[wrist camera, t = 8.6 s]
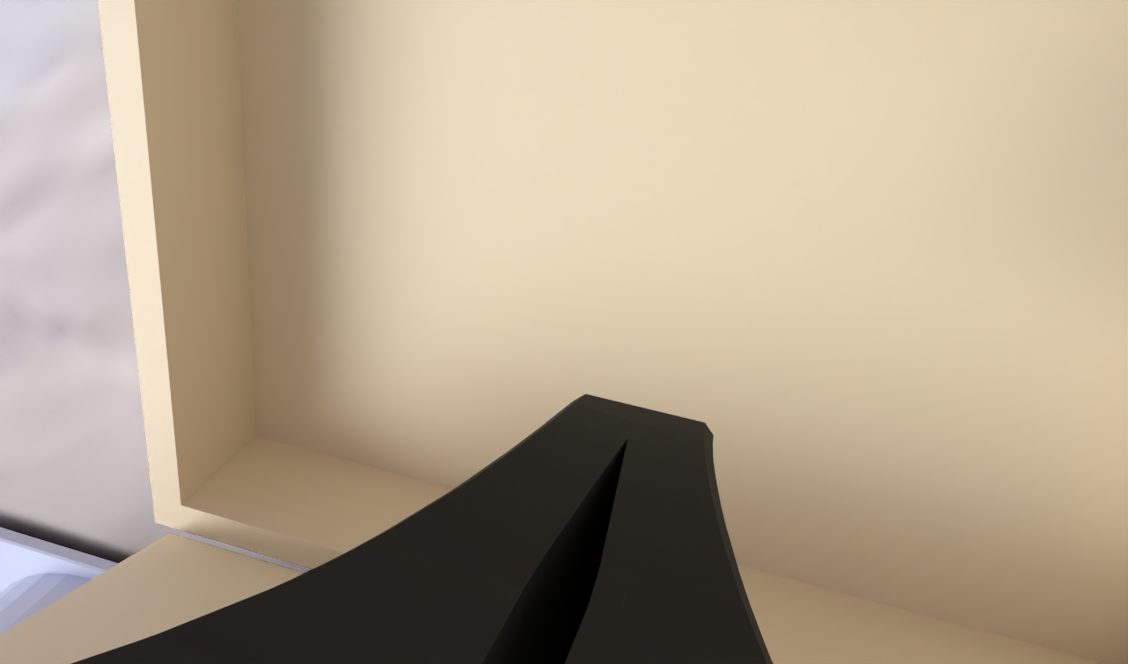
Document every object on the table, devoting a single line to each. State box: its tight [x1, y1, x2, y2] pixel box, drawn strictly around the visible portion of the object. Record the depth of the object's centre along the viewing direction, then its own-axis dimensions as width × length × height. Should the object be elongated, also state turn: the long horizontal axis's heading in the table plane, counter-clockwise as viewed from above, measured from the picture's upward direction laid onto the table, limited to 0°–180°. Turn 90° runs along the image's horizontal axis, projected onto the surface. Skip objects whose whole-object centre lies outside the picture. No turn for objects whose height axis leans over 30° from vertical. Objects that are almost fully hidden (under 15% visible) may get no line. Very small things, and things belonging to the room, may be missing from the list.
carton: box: [98, 0, 1128, 664], centre depth 14 cm, size 14×18×3 cm
